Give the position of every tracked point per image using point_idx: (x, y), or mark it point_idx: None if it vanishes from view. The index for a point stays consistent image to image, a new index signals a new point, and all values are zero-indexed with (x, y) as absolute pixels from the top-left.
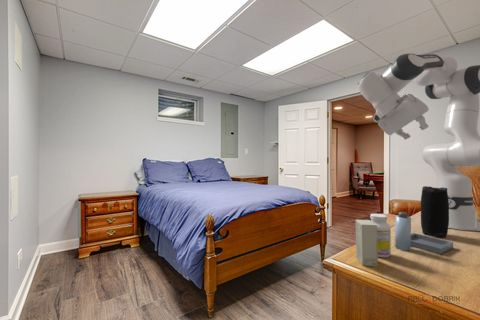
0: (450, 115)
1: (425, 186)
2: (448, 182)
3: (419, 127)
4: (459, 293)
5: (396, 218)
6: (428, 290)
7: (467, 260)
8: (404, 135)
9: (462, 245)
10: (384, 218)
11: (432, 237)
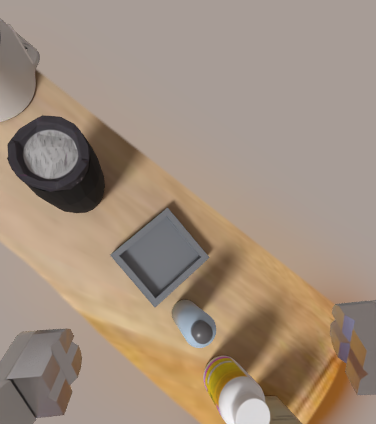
0: None
1: (12, 163)
2: None
3: (352, 384)
4: (324, 313)
5: (201, 346)
6: (326, 349)
7: (221, 227)
8: (60, 411)
9: (147, 179)
10: (267, 406)
11: (142, 230)
